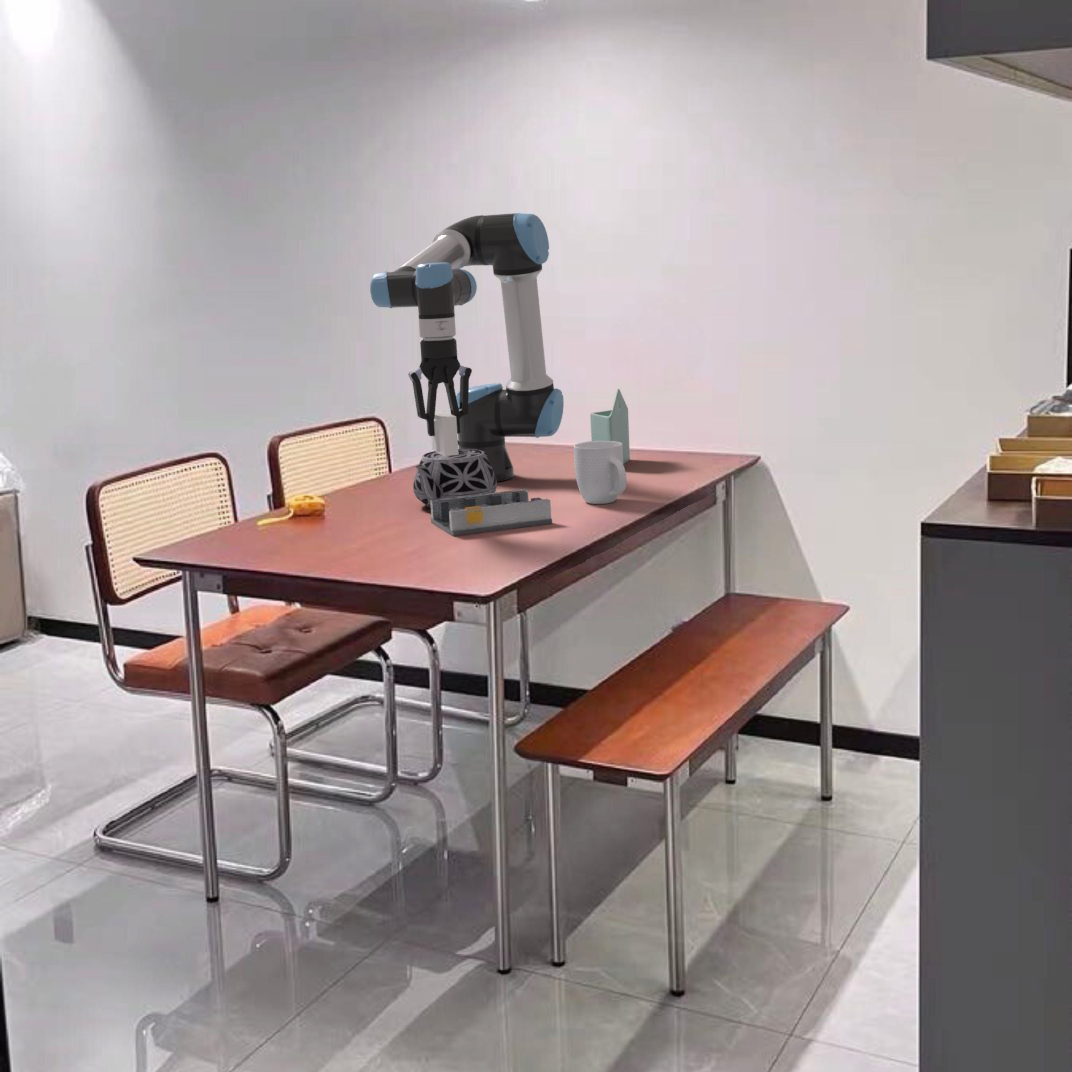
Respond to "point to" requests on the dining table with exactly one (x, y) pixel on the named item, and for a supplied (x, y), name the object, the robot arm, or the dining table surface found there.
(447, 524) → the rack
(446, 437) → the panel
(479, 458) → the teapot
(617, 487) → the mug
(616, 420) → the planter
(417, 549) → the dining table surface
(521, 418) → the robot arm
